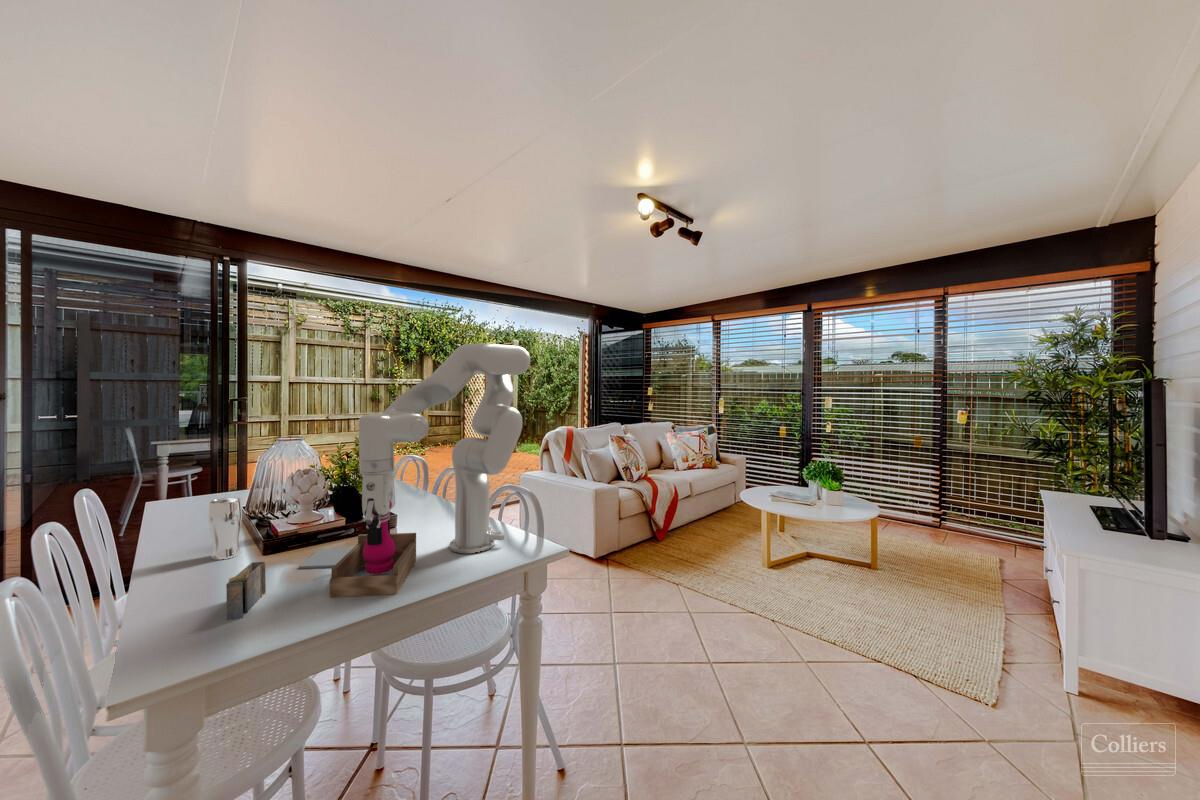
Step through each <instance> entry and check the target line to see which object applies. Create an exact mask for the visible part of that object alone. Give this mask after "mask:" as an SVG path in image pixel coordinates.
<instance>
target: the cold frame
mask: <svg viewBox="0 0 1200 800" xmlns="http://www.w3.org/2000/svg"><path fill="white" fill-rule="evenodd" d="M390 536H391V538H392V539H393V541H394V544H395V548H396V552H395V554H394V556H393V557H392V559H393V560H394V566H393V569H392V574H389V575H388V574H387V575H386V574H385V575H381V574H380V575H360V576H355V575H356V574H357V571H360V569H361V568H362V567H365V564H366V563H367V561H366V560H365V559H364V558H363V549H364V546H365V543H366V541H367V533H366V534H365V533H362V534H361V533H360V534H358V535H357V543H356V545H354V547H352V548H353V549H352V550H351V551H350V552H348V553H347V554H346V555H345V556H344V557H343V558H342V559H341V560H340V561H339V562H338V563H337V564H336V565H335V566H334V567H331V577H330V579H329V598H340V597H344V596H346V597H361V596H362V597H363V596H364V595H367V596H383V595H384V596H387V594H388V595H397V594H398V593H399V591H400V590H401V588H402V586H403V585H402V584H404V583H405V582H406V580H407V578H408V577H407V576H409V575H410V573H411V572H412V571H413V569H412V568H414V567H415V565H416V564H417V532H398V533H397V532H395V533H390ZM415 563H416V564H415ZM410 571H411V572H410ZM405 579H406V580H405ZM385 594H386V595H385Z"/></svg>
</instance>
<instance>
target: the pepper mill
mask: <svg viewBox="0 0 1200 800" xmlns="http://www.w3.org/2000/svg"><path fill="white" fill-rule="evenodd" d="M389 502H390V505H389V508H390V509H391V507H392V502H391V501H389ZM391 510H392V509H391ZM373 515H378V513H377V512H374V513H373ZM389 515H391V513H390V512H389V513H387V514H386V515H384V516H382V515H381V525H380V527H382V544H381V545H368V544H367V541H366V543H365V546H364V549H363V558H364V559H365V560H366V561H367V563H366V564H365V566H364V567H365V573H366V574H368V575H381V574H386V573H388V572H390V571H393V566H394V560H393V559H392V557H393V556H394V554H395V552H396V548H395V544H394V541H393V539H392V538H391V536H390V534H391V533H390V534H389V531H388V520H389V519H390V520H391V518H390V517H391V516H390V517H389ZM373 519H375V520H376V521H377V517H373Z"/></svg>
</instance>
